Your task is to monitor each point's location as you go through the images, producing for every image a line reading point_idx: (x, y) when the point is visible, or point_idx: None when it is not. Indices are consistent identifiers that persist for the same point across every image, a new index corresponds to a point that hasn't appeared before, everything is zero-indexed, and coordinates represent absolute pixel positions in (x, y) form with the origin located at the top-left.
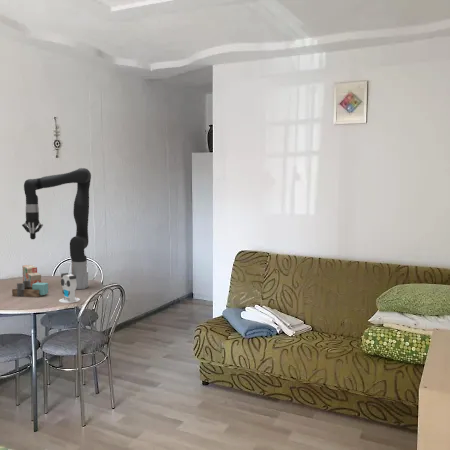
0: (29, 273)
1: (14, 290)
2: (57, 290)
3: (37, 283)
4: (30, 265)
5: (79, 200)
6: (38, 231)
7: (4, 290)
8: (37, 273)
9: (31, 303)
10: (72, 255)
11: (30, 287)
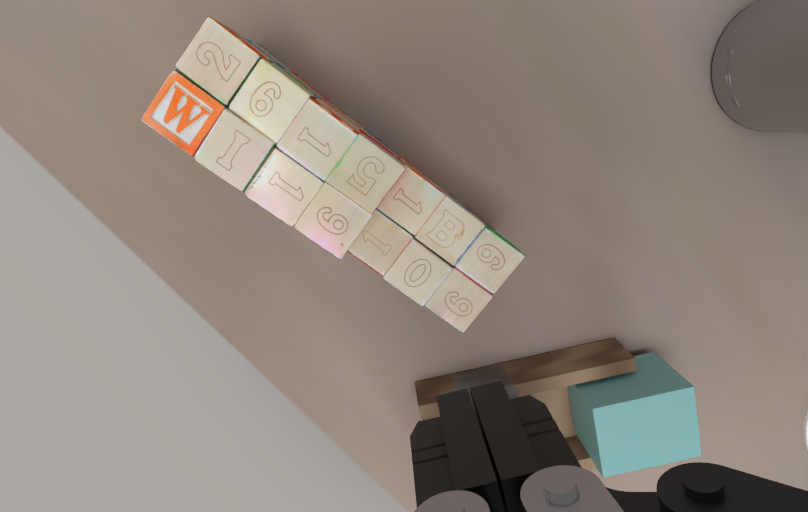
0: (370, 246)
1: None
2: (643, 215)
3: (621, 435)
4: (222, 68)
5: None
6: (741, 489)
7: (256, 368)
8: (450, 217)
9: None
10: None
11: (521, 394)
